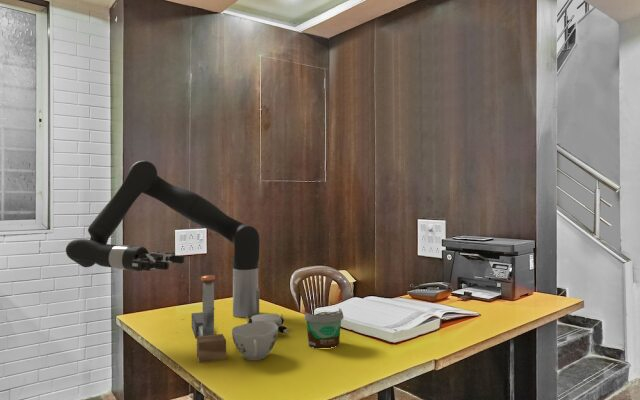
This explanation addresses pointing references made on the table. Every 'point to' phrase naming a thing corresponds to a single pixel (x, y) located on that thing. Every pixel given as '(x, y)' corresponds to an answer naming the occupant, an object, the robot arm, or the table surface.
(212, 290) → the tube
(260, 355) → the teacup
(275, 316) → the robot toy
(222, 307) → the table surface
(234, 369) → the table surface
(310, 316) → the food container
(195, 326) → the sleeve
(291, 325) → the table surface
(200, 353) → the socket
